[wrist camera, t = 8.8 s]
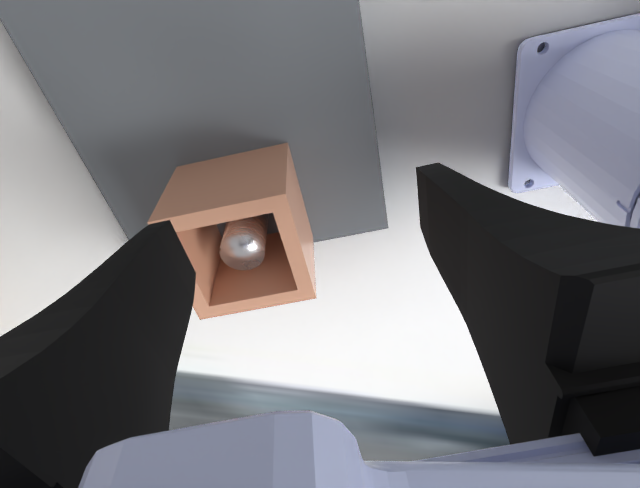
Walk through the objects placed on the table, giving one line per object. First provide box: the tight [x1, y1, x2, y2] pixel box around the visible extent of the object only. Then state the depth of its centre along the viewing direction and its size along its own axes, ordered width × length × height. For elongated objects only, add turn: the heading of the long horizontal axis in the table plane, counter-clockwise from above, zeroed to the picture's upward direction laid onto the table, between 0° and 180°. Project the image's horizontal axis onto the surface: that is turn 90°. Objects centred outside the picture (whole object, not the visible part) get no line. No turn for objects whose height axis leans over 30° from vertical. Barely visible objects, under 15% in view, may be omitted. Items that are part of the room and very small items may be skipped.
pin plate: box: [0, 0, 388, 270], centre depth 17 cm, size 14×20×6 cm
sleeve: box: [147, 143, 316, 320], centre depth 20 cm, size 6×6×5 cm
